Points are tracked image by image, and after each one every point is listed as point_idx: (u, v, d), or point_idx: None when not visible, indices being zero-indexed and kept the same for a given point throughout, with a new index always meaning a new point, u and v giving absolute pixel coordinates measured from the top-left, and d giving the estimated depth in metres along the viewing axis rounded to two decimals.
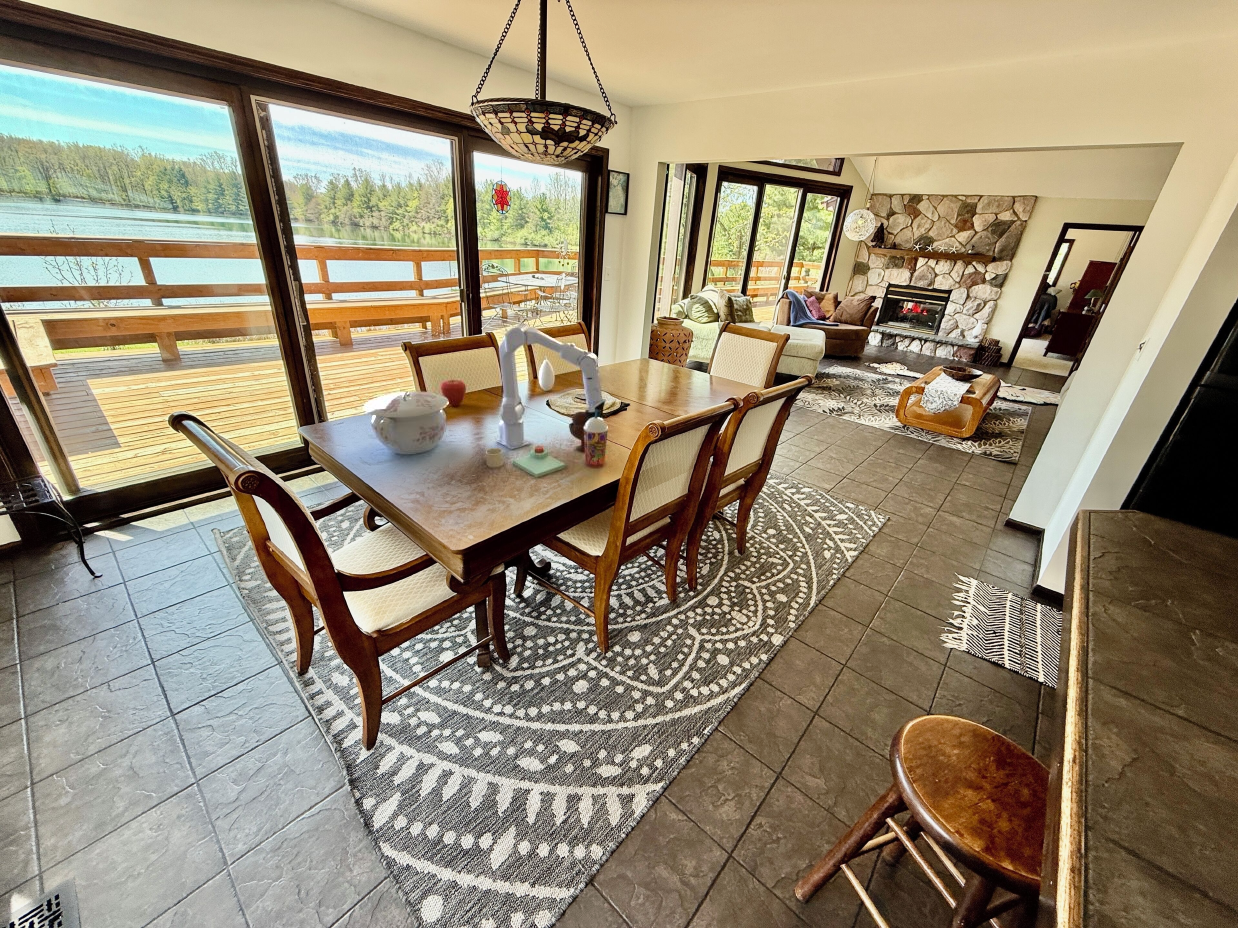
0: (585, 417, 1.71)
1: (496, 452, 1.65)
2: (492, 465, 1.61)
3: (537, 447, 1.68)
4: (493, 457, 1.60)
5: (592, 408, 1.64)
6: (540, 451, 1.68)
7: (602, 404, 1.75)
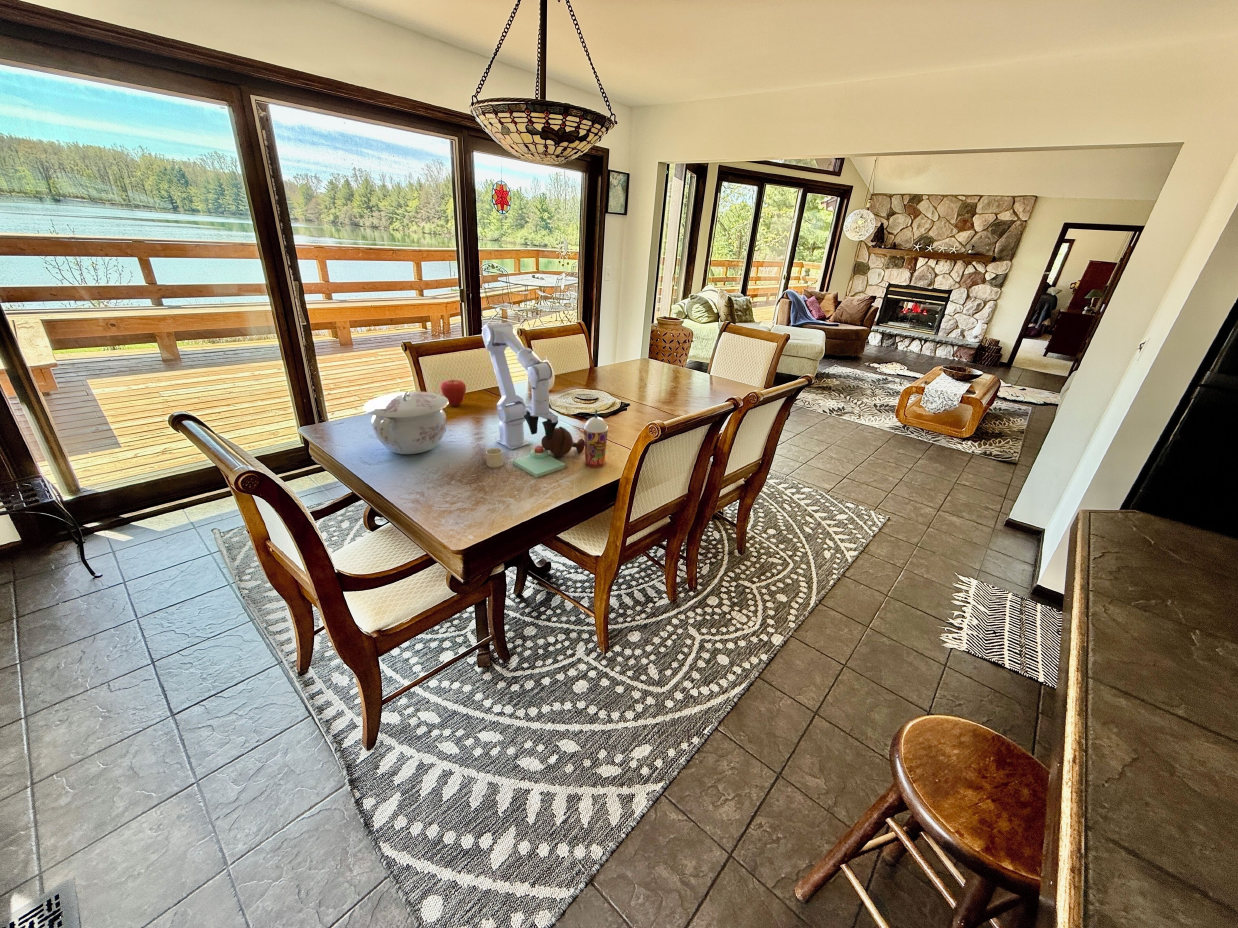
0: (546, 447, 1.68)
1: (496, 452, 1.65)
2: (492, 465, 1.61)
3: (537, 447, 1.68)
4: (493, 457, 1.60)
5: None
6: (540, 451, 1.68)
7: None
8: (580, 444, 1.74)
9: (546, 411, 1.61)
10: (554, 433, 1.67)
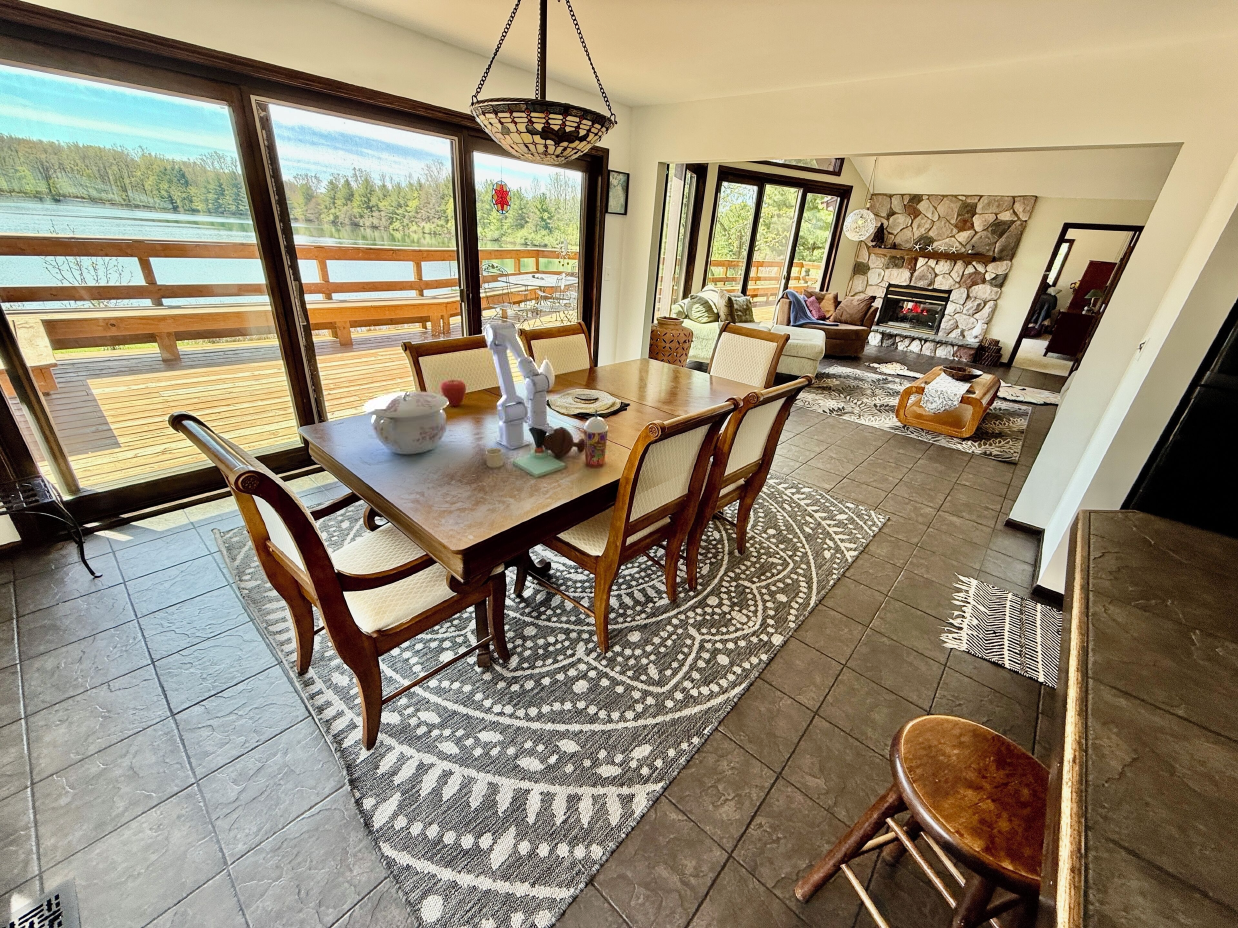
0: (547, 447, 1.68)
1: (496, 452, 1.65)
2: (492, 465, 1.61)
3: None
4: (493, 457, 1.60)
5: None
6: (540, 451, 1.68)
7: None
8: (581, 444, 1.74)
9: (543, 422, 1.62)
10: (555, 434, 1.67)
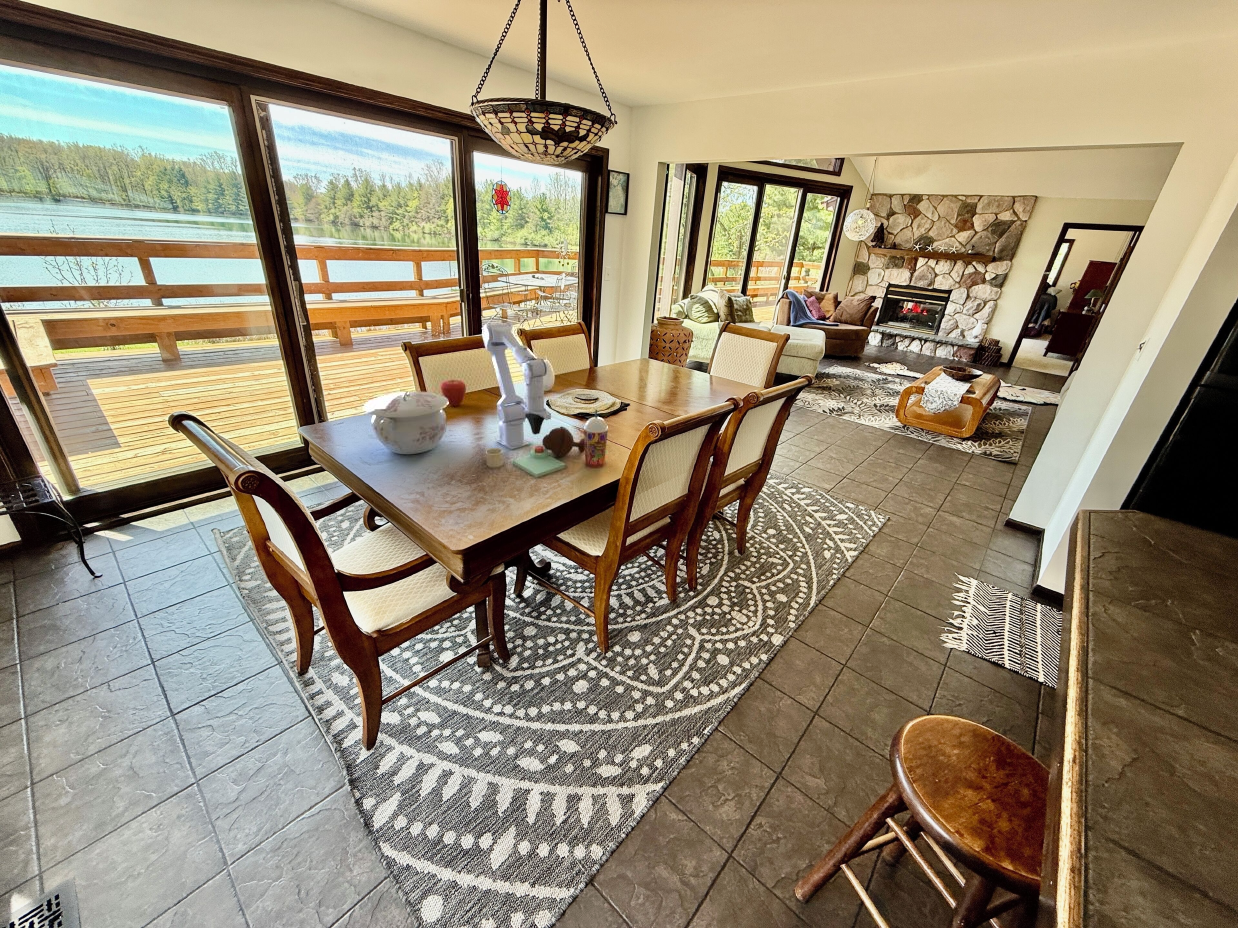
0: (547, 447, 1.69)
1: (496, 452, 1.65)
2: (492, 465, 1.61)
3: (537, 447, 1.68)
4: (493, 457, 1.60)
5: None
6: (540, 451, 1.68)
7: None
8: (582, 443, 1.74)
9: (540, 408, 1.60)
10: (554, 433, 1.68)
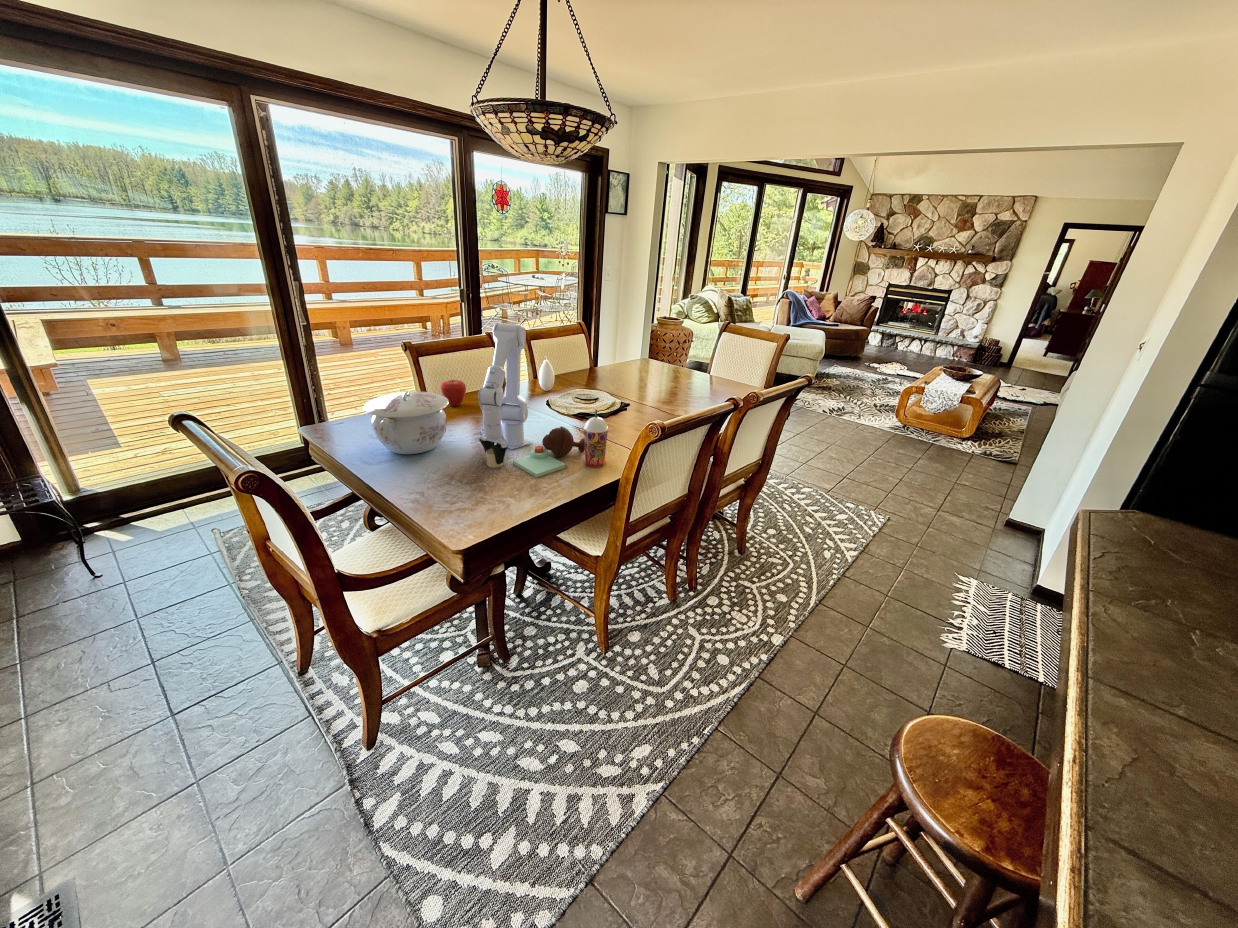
0: (547, 447, 1.69)
1: None
2: (492, 465, 1.61)
3: (537, 447, 1.68)
4: (493, 457, 1.60)
5: None
6: (540, 451, 1.68)
7: None
8: (582, 443, 1.74)
9: (497, 435, 1.58)
10: (554, 433, 1.68)
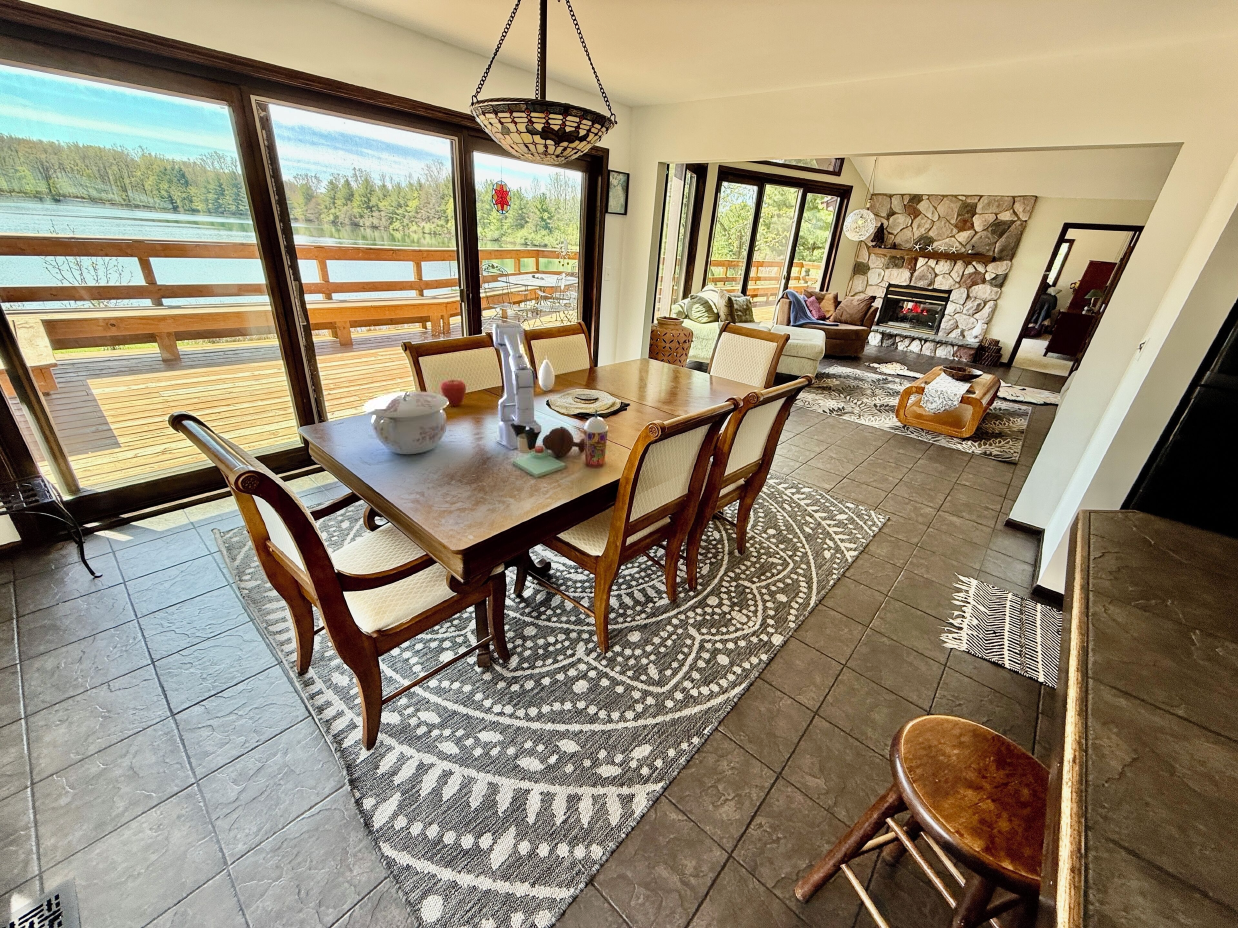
0: (547, 447, 1.69)
1: None
2: (524, 451, 1.57)
3: (537, 447, 1.68)
4: (525, 442, 1.55)
5: None
6: (540, 451, 1.68)
7: None
8: (582, 443, 1.74)
9: (530, 420, 1.53)
10: (554, 433, 1.68)
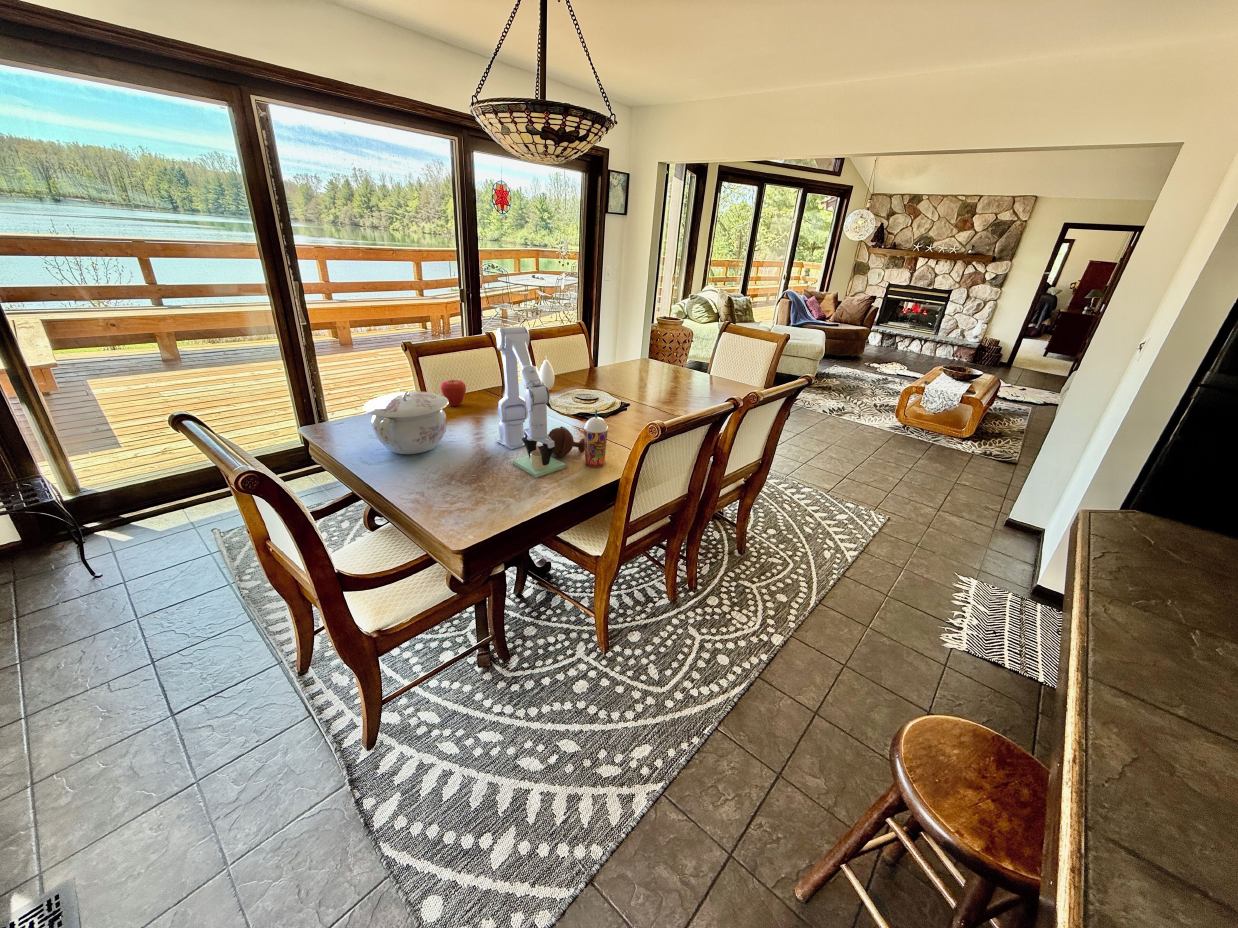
0: None
1: (540, 454, 1.62)
2: (537, 467, 1.58)
3: (537, 447, 1.68)
4: (538, 459, 1.57)
5: None
6: None
7: None
8: (582, 443, 1.74)
9: (543, 435, 1.54)
10: (554, 433, 1.68)
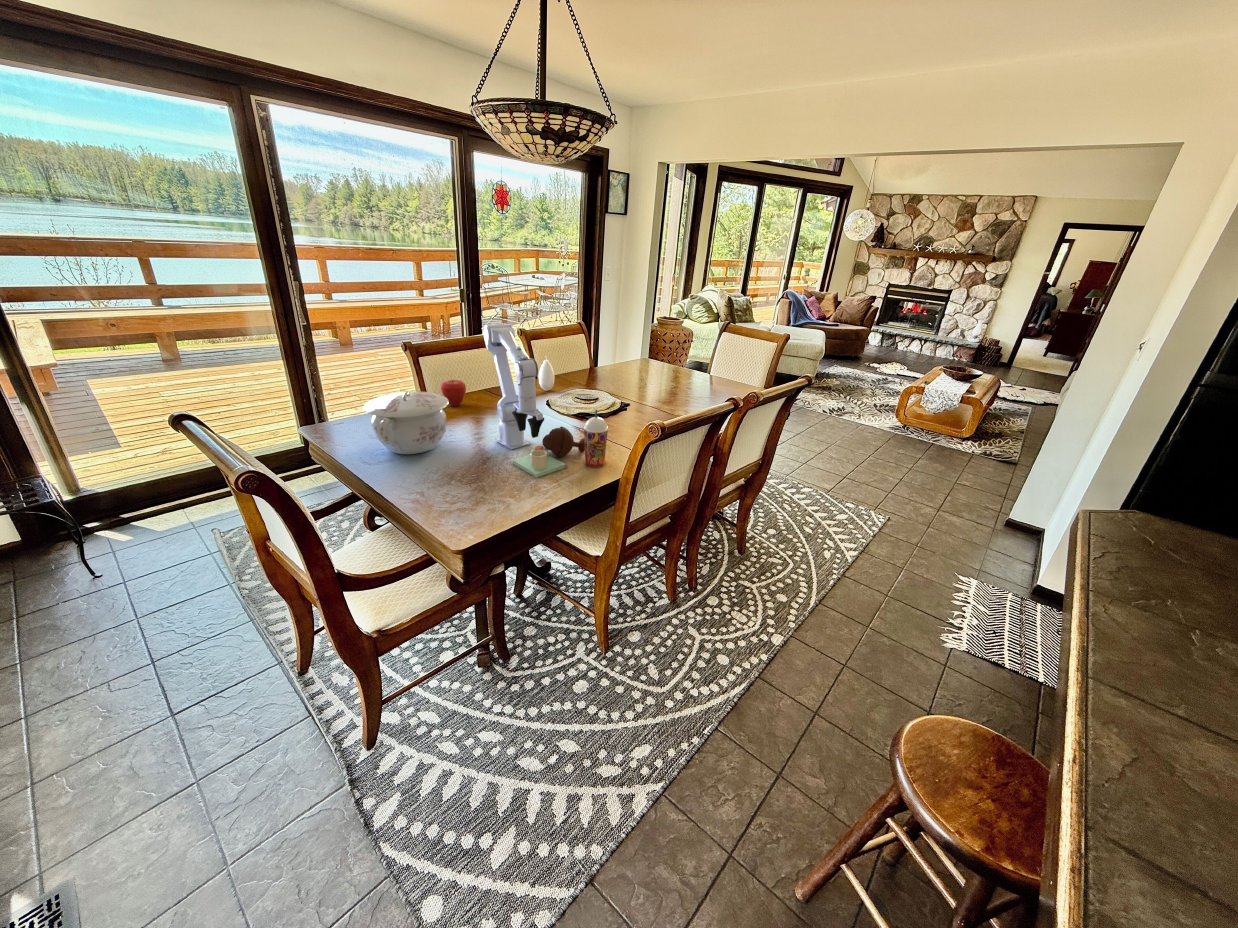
0: (547, 447, 1.69)
1: (540, 454, 1.62)
2: (537, 467, 1.58)
3: (537, 447, 1.68)
4: (538, 459, 1.57)
5: None
6: None
7: None
8: (582, 443, 1.74)
9: (532, 408, 1.60)
10: (554, 433, 1.68)
